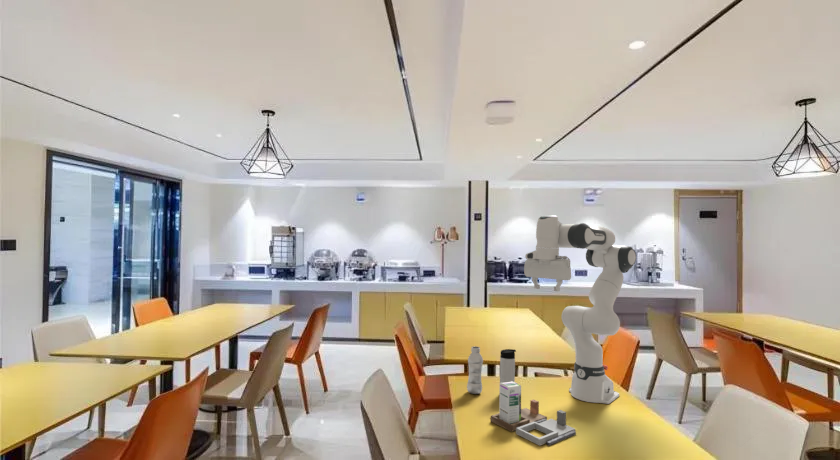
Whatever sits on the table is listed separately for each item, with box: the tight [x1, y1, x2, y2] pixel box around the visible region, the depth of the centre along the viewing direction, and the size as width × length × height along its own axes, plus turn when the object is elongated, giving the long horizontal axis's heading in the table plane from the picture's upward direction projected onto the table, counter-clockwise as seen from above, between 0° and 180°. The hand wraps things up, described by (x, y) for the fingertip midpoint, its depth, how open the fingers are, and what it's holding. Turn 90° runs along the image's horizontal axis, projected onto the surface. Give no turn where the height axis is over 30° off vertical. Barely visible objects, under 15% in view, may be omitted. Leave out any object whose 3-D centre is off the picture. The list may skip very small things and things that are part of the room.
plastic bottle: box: [466, 345, 484, 395], centre depth 181 cm, size 6×7×20 cm
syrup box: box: [498, 381, 522, 424], centre depth 150 cm, size 6×6×14 cm
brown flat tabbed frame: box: [490, 399, 548, 432], centre depth 153 cm, size 20×10×5 cm, turn 126°
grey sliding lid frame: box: [515, 409, 576, 447], centre depth 144 cm, size 20×10×5 cm, turn 126°
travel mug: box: [499, 348, 517, 384], centre depth 179 cm, size 6×7×20 cm
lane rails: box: [536, 418, 577, 447], centre depth 149 cm, size 15×25×1 cm, turn 36°
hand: (546, 289), depth 164 cm, fingers open, 8 cm apart
